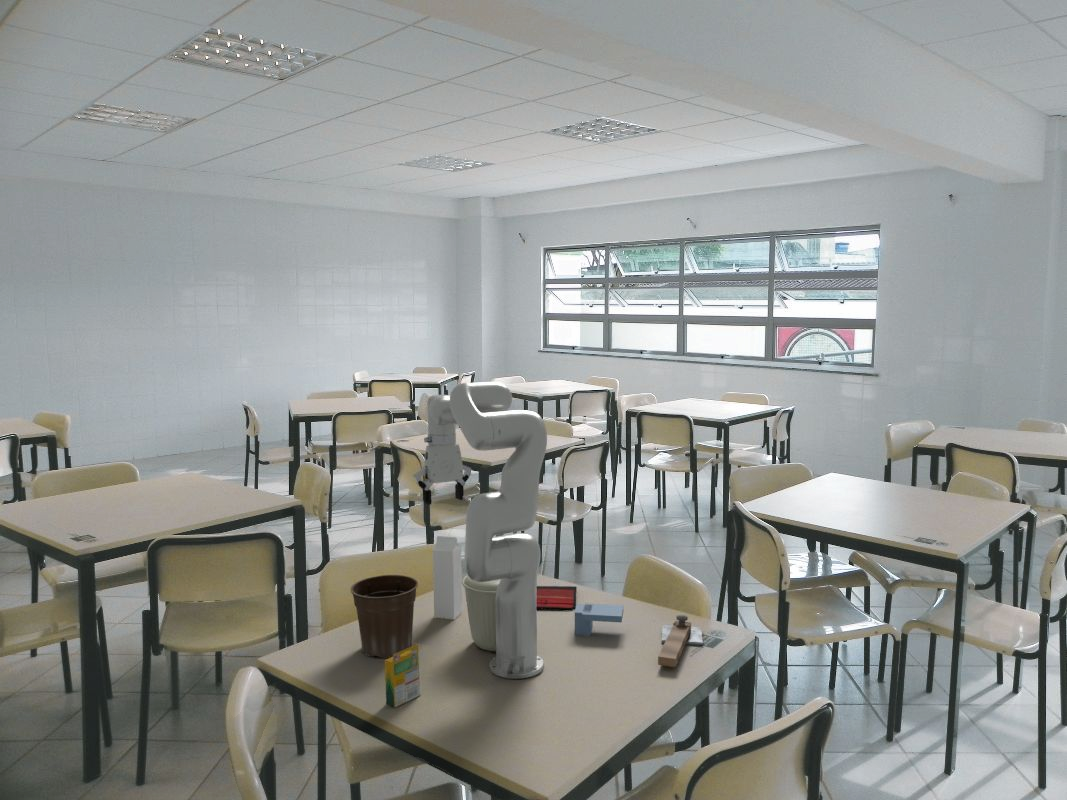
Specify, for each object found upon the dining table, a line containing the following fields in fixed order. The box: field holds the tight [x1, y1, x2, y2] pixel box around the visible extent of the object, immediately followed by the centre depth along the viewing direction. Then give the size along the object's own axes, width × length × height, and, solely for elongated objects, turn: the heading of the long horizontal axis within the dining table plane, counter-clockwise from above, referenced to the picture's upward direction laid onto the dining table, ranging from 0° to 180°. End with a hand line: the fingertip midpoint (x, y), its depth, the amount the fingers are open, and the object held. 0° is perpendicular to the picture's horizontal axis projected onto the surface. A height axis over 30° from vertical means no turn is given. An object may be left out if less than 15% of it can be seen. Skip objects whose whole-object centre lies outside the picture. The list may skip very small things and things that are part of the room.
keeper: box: [574, 602, 624, 637], centre depth 205 cm, size 8×12×6 cm, turn 80°
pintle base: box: [661, 624, 704, 646], centre depth 201 cm, size 10×10×1 cm
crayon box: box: [384, 643, 421, 709], centre depth 169 cm, size 7×3×12 cm, turn 141°
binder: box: [537, 585, 578, 611], centre depth 229 cm, size 16×2×21 cm
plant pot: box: [350, 574, 419, 659], centre depth 195 cm, size 16×16×16 cm
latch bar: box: [657, 614, 692, 668], centre depth 192 cm, size 23×4×4 cm, turn 160°
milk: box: [432, 535, 463, 621], centre depth 217 cm, size 6×6×22 cm
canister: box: [462, 574, 501, 652], centre depth 197 cm, size 18×18×21 cm
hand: (443, 501), depth 219 cm, fingers open, 9 cm apart
